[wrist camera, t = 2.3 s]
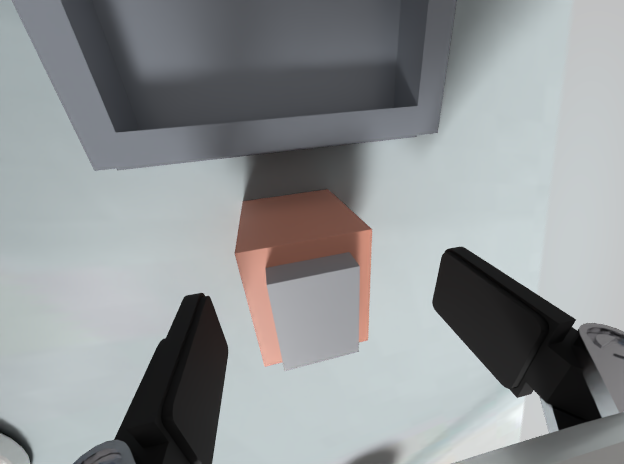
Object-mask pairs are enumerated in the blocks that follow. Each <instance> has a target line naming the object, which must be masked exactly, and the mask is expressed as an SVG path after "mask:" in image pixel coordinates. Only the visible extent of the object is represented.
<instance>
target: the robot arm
mask: <svg viewBox="0 0 624 464" xmlns="http://www.w3.org/2000/svg"><path fill="white" fill-rule="evenodd" d="M432 303H433V307H434V309H435V310H436V312H437V313H438V314H439V315H440V316H441V317H442V318H443V319H444V321H445V322H446V323H447V324H448V325H449V326H450V327H451V328H452V330H453V331H454V332H455V333H456V334H457V335H458V336H459V337H460V338H461V340H462V341H463V342H464V343H465V344H466V345H467V346H468V347H469V349H470V350H471V351H472V352H473V353H474V354H475V355H476V356H477V358H478V359H479V360H480V361H481V362H482V363H483V364H484V365H485V366H486V368H487V369H488V370H489V371H490V372H491V373H492V374H493V375H494V377H495V378H496V379H497V380H498V381H499V382H500V383H501V384H502V385H503V386H504V387H506V388H508V389H510V390H511V391H512V393H513V394H514V395H515V396H516V397H517V398H518V397H522V396H525V395H529V394H531V393H532V392H533V390H534V391H535V392H536V393H537V394H538V395H539V396H540V400H541V404H542V408H543V412H544V415H545V419H546V423H547V427H548V431H549V434H546V435H543V436H539V437H536V438H533V439H530V440H526V441H523V442H520V443H517V444H513V445H510V446H507V447H503V448H500V449H497V450H494V451H491V452H487V453H484V454H481V455H478V456H475V457H471V458H468V459H465V460H462V461H459V462H455V463H452V464H624V332H623V331H621V330H619V329H616V328H613V327H610V326H607V325H603V324H596V323H586V324H583V325H581V326H580V328H579V329H578V331H577V330H575V329H574V328H572V325H573V324H574V322H575V321H576V319H574V318H573V317H571V316H570V315H568V314H566V313H565V312H563V311H562V310H560V309H559V308H557V307H556V306H554V305H552V304H551V303H549V302H548V301H546V300H545V299H543V298H542V297H540V296H539V295H537V294H535V293H534V292H532V291H531V290H529V289H528V288H526V287H525V286H523V285H522V284H520V283H518V282H517V281H515V280H514V279H512V278H511V277H509V276H508V275H506V274H505V273H503V272H501V271H500V270H498V269H497V268H495V267H494V266H492V265H491V264H489V263H487V262H486V261H484V260H483V259H481V258H480V257H478V256H477V255H475V254H474V253H472V252H470V251H469V250H467V249H466V248H464V247H456V248H450V249H447V250H446V251H445V253H444V254H443V255H442V258H441V263H440V267H439V272H438V277H437V282H436V287H435V291H434V296H433V301H432ZM227 359H228V345H227V342H226V339H225V337H224V334H223V331H222V328H221V326H220V323H219V320H218V317H217V315H216V312H215V309H214V306H213V304H212V301H211V298H210V297H209V296H205V295H204V294H203V293H199V294H193V295H187V296H185V297H184V299H183V301H182V303H181V305H180V307H179V310H178V312H177V314H176V317H175V319H174V321H173V323H172V326H171V328H170V330H169V332H168V335H167V337H166V339H163V340H162V341H160V343H159V345H158V346H157V348H156V351H155V353H154V355H153V357H152V359H151V361H150V363H149V366H148V368H147V370H146V372H145V374H144V376H143V379H142V381H141V383H140V385H139V387H138V389H137V392H136V394H135V396H134V398H133V400H132V402H131V405H130V407H129V409H128V411H127V413H126V415H125V417H124V420H123V422H122V424H121V426H120V428H119V430H118V433H117V435H116V437H115V439H114V440H112V441H106V442H104V443H102V444H100V445H97V446H95V447H94V448H92V449H91V450H89V451H88V452H86V453H85V454H83V455H82V456H81V457H80V458H79V459H78V460H77V461H75V462H74V463H73V464H212V460H213V453H214V446H215V440H216V433H217V426H218V419H219V413H220V406H221V399H222V392H223V386H224V379H225V372H226V365H227ZM0 464H30V460H29V456H28V454H27V453H26V452H25V450H24V449H23V448H22V446H20V445H19V444H18V443H17V442H15V441H14V440H13V439H12V438H10V437H8V436H6V435H4V434H2V433H0Z"/></svg>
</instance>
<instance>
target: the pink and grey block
mask: <svg viewBox="0 0 624 464" xmlns="http://www.w3.org/2000/svg"><path fill="white" fill-rule="evenodd" d="M371 243H372V229H371V228H370V227H369V226H368V225H367V224H366V223H365V222H363V221H362V220H361V219H360V218H359V217H358V216H357V215H356V214H355V213H354V212H352V211H351V210H350V209H349V208H348V207H347V206H346V205H345V204H344V203H343V202H341V201H340V200H339V199H338V198H337V197H336V196H335V195H334V194H333V193H332V192H330V191H329V190H328V189H326V190H319V191H312V192H304V193H297V194H290V195H283V196H276V197H269V198H262V199H255V200H248V201H243V203H242V210H241V216H240V223H239V229H238V236H237V242H236V249H235V256H236V260H237V264H238V268H239V272H240V275H241V279H242V283H243V287H244V290H245V294H246V298H247V302H248V305H249V309H250V313H251V317H252V321H253V324H254V328H255V332H256V336H257V339H258V343H259V347H260V351H261V354H262V358H263V362H264V366H265V367H266V366H270V365H273V364H277V363H281V362H283V366H284V371H287V370H291V369H295V368H299V367H302V366H306V365H310V364H314V363H318V362H321V361H325V360H329V359H333V358H336V357H340V356H344V355H348V354H352V353H355V352H359V342H363V341H367V340H368V326H369V298H370V270H371Z"/></svg>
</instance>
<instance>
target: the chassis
mask: <svg viewBox="0 0 624 464" xmlns="http://www.w3.org/2000/svg"><path fill="white" fill-rule="evenodd" d="M12 2H13V4H14V6H15V8H16V10H17V12H18V14H19V16H20V19H21V21H22V23H23V25H24V27H25V29H26V31H27V33H28V35H29V37H30V39H31V41H32V43H33V45H34V47H35V49H36V51H37V54H38V56H39V58H40V60H41V62H42V64H43V66H44V68H45V70H46V72H47V74H48V76H49V78H50V80H51V82H52V84H53V86H54V89H55V91H56V93H57V95H58V97H59V99H60V101H61V103H62V105H63V107H64V109H65V111H66V113H67V115H68V117H69V119H70V121H71V123H72V126H73V128H74V130H75V132H76V134H77V136H78V138H79V140H80V142H81V144H82V146H83V148H84V150H85V152H86V154H87V156H88V158H89V161H90V163H91V165H92V167H93V169H94V171H96V170H105V169H115V168H116V169H117V170H124V169H133V168H141V167H150V166H159V165H168V164H177V163H186V162H195V161H204V160H213V159H222V158H231V157H240V156H249V155H258V154H267V153H276V152H285V151H293V150H302V149H311V148H320V147H329V146H338V145H347V144H356V143H365V142H374V141H383V140H392V139H401V138H410V137H417V135H422V134H431V133H438V127H439V120H440V113H441V106H442V99H443V92H444V85H445V78H446V71H447V64H448V57H449V50H450V44H451V37H452V30H453V23H454V16H455V9H456V2H457V0H12Z"/></svg>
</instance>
